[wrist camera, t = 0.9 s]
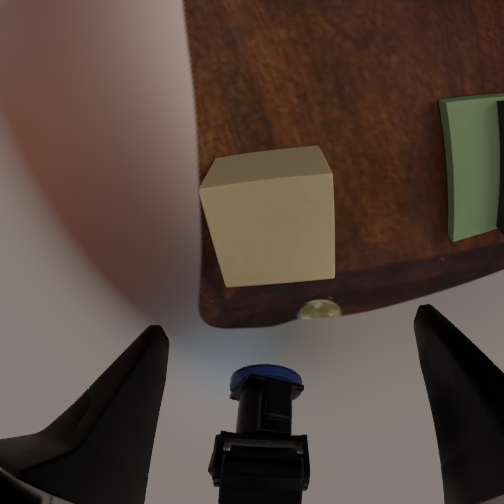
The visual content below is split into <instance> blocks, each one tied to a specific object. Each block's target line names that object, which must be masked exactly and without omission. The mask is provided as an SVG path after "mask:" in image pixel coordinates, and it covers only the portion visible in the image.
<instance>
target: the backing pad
mask: <svg viewBox="0 0 504 504" xmlns="http://www.w3.org/2000/svg"><path fill="white" fill-rule="evenodd" d="M438 102H439V108H440V114H441V120H442V127H443V135H444V144H445V154H446V167H447V185H448V236H449V237H450V239H451V240H452V242H456V241H459V240H462V239H466V238H469V237H472V236H475V235H478V234H482V233H485V232H488V231H491V230H494V229H497V228H498V229H499V230H500V231H501V233H502V234H503V235H504V93H498V94H484V95H473V96H463V97H454V98H446V99H439V100H438Z"/></svg>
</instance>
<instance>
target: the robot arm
mask: <svg viewBox="0 0 504 504" xmlns="http://www.w3.org/2000/svg"><path fill="white" fill-rule="evenodd" d="M414 331H415V336H416V341H417V347H418V353H419V359H420V365H421V369H422V373H423V377H424V380H425V385H426V389H427V393H428V398H429V402H430V406H431V411H432V415H433V421H434V426H435V431H436V437H437V443H438V449H439V454H440V462H441V471H442V479H443V489H444V501H445V504H504V373H503V372H502V371H501V370H500V369H499V368H498V367H497V366H496V365H494V363H493V362H492V361H491V360H490V359H489V358H488V357H487V356H486V355H485V354H484V353H483V352H482V351H481V350H480V349H479V348H478V347H477V346H476V345H475V344H474V343H472V342H471V341H470V340H469V339H468V338H467V337H466V336H465V335H464V334H463V333H462V332H461V331H460V330H459V329H457V328H456V327H455V326H454V325H453V324H452V323H451V322H450V321H449V320H448V319H447V318H445V317H444V316H443V315H442V314H441V313H440V312H439V311H438V310H436V309H435V308H434V307H433V306H432V305H430V304H426V305H421V306H419V308H418V311H417V314H416V317H415V320H414ZM168 353H169V339H168V337H167V336H166V334H165V332H164V330H163V328H162V327H161V326H160V325H150V326H149V327H147V328H146V329H145V330H144V331H143V333H141V334H140V336H138V338H137V339H136V340H135V341H134V342H133V343H132V344H131V345H130V346H129V347H128V348H127V349H126V350H125V351H124V352H123V353H122V354H121V355H120V356H119V357H118V358H117V359H116V360H115V361H114V362H113V363H112V364H111V365H110V366H109V368H107V369H106V371H105V372H104V373H103V374H102V375H101V376H100V377H99V378H98V379H97V380H96V381H95V382H94V383H93V384H92V385H91V386H90V388H89V389H87V390H86V391H85V393H83V395H82V396H81V397H80V398H79V399H78V400H77V401H76V402H75V403H74V404H73V405H71V407H69V408H68V409H67V410H66V411H65V412H64V413H63V414H61V415H60V416H59V417H58V418H57V419H56V420H55V421H53V422H52V423H51V424H50V425H49V426H48V427H46V428H45V429H44V430H42V431H40V432H38V433H36V434H31V435H25V436H19V437H13V438H7V439H0V467H1V468H0V504H144V501H145V494H146V486H147V481H148V477H147V476H148V473H149V466H150V461H151V455H152V448H153V443H154V438H155V432H156V427H157V421H158V416H159V411H160V406H161V401H162V396H163V391H164V386H165V381H166V372H167V362H168ZM303 390H304V385H302V384H297V383H292V382H288V381H283V380H279V379H274V378H270V377H266V376H262V375H258V374H254V373H250V374H248V375H247V376H246V377H245V378H244V380H243V381H242V382H241V383H240V384H239V385H238V386H237V387H236V389H235V390H234V391H233V392H232V393H231V394H230V398H231V399H233V400H237V401H239V407H238V417H237V426H236V433H232V432H226V431H221V434H219V435H216V438H215V444H214V450H213V453H212V457H211V460H210V464H209V468H208V472H209V473H210V474H211V476H212V480H213V484H214V486H215V487H220V488H219V500H218V503H219V504H301V501H302V491H306V490H307V489H308V485H309V479H310V463H309V452H308V442H307V435H301V436H300V435H298V436H297V435H296V436H295V435H293V436H292V435H291V423H292V421H291V420H292V399H293V398H294V397H296V396H297V395H298V394H299V393H301V392H302V391H303ZM228 448H230V451H228Z"/></svg>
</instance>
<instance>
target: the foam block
mask: <svg viewBox="0 0 504 504" xmlns="http://www.w3.org/2000/svg"><path fill="white" fill-rule="evenodd" d="M198 191H199V195H200V198H201V202H202V206H203V209H204V213H205V216H206V220H207V224H208V227H209V231H210V234H211V238H212V241H213V245H214V248H215V252H216V255H217V258H218V262H219V265H220V269H221V272H222V275H223V279H224V282H225V285H226V287H239V286H252V285H265V284H277V283H289V282H300V281H311V280H322V279H332V278H335V221H334V191H333V174H332V172H331V170H330V167H329V165H328V163H327V161H326V159H325V157H324V155H323V153H322V151H321V149H320V147H319V146H318V145H317V146H306V147H295V148H286V149H277V150H268V151H260V152H253V153H246V154H239V155H232V156H226V157H219V158H216V159H215V160H214V162H213V164H212V166H211V167H210V169H209V171H208V173H207V174H206V176H205V178H204V180H203V182H202V183H201V185H200V187H199V189H198Z"/></svg>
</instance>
